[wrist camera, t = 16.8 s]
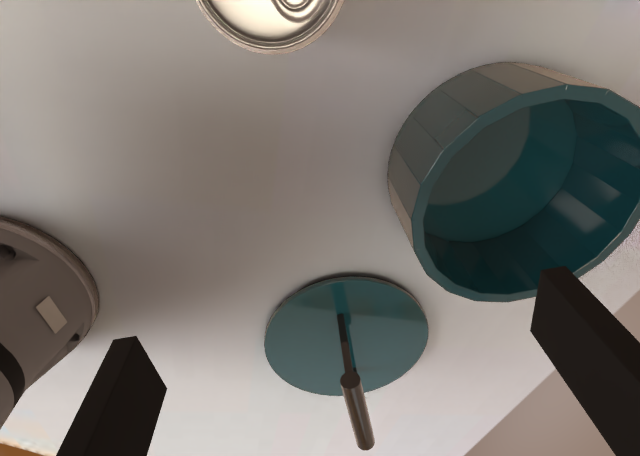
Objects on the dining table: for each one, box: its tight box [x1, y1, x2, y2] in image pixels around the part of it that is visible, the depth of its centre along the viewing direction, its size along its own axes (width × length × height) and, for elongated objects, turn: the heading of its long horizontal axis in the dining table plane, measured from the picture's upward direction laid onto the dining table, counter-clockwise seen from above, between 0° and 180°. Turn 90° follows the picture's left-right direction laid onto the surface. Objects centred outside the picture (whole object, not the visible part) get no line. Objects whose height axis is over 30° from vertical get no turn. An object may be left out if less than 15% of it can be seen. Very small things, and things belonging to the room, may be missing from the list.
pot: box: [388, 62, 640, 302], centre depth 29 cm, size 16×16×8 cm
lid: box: [264, 276, 428, 450], centre depth 37 cm, size 17×17×10 cm
